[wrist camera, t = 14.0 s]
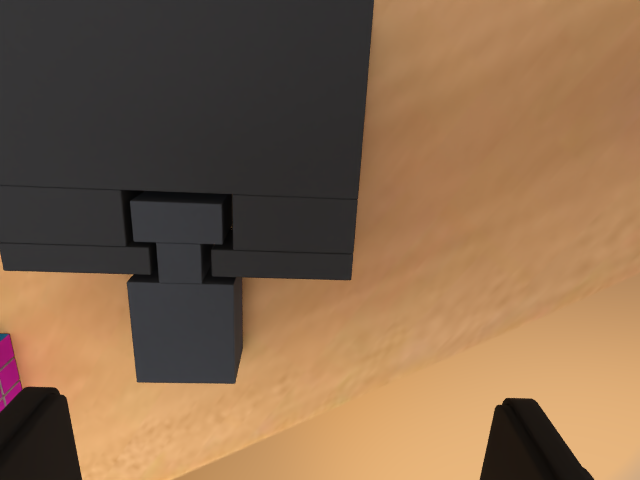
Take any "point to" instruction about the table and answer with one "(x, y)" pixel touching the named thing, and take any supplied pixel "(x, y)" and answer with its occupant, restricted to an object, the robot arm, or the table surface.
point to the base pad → (182, 129)
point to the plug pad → (184, 291)
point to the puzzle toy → (7, 372)
